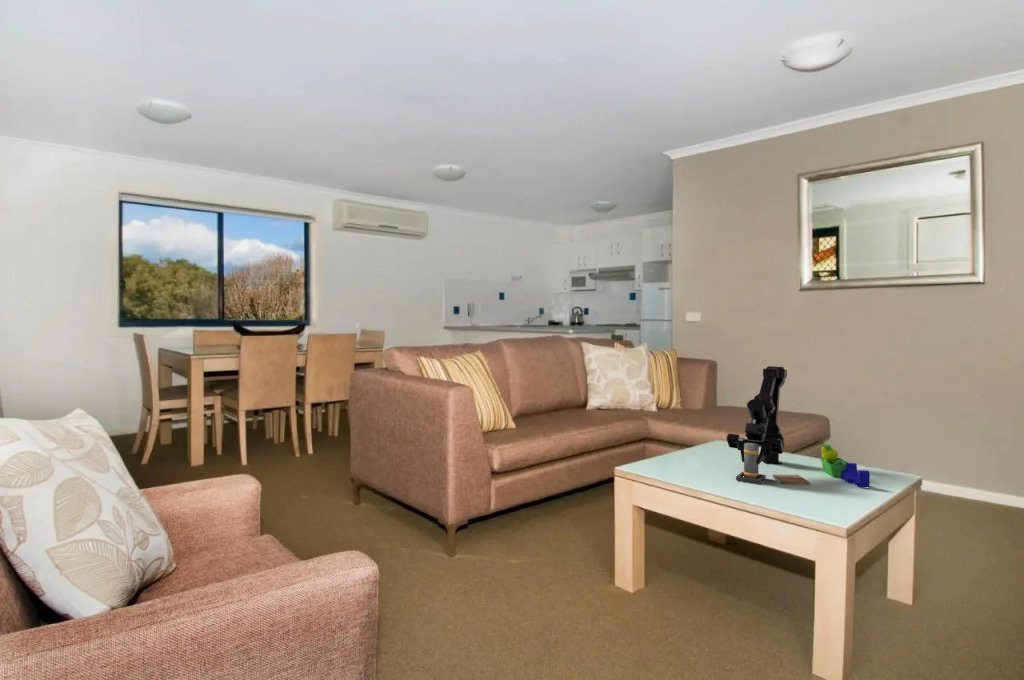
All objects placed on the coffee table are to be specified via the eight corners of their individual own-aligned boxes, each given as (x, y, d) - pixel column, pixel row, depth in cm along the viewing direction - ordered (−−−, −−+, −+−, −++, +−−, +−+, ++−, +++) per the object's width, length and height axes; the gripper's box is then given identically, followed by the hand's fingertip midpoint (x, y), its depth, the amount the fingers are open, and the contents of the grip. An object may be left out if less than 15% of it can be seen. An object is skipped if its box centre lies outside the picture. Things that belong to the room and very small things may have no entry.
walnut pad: (772, 477, 213) (772, 474, 213) (797, 477, 212) (797, 474, 212) (783, 484, 204) (783, 481, 204) (809, 484, 203) (809, 481, 203)
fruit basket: (853, 479, 211) (853, 448, 210) (826, 478, 212) (827, 447, 212) (840, 471, 222) (840, 441, 222) (815, 470, 223) (816, 441, 223)
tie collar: (742, 475, 214) (742, 471, 214) (778, 481, 207) (778, 477, 207) (736, 480, 208) (736, 476, 208) (773, 486, 200) (773, 482, 200)
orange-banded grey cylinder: (741, 478, 211) (742, 442, 211) (755, 478, 211) (755, 442, 211) (746, 481, 206) (746, 445, 206) (760, 482, 206) (761, 445, 206)
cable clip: (841, 478, 211) (841, 462, 211) (854, 479, 211) (855, 463, 210) (855, 488, 199) (855, 470, 199) (869, 488, 199) (869, 471, 199)
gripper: (728, 411, 217) (719, 446, 208) (782, 416, 206) (775, 453, 197) (733, 429, 223) (725, 463, 215) (786, 435, 212) (779, 471, 204)
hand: (750, 462), depth 207 cm, fingers closed on orange-banded grey cylinder, 5 cm apart
